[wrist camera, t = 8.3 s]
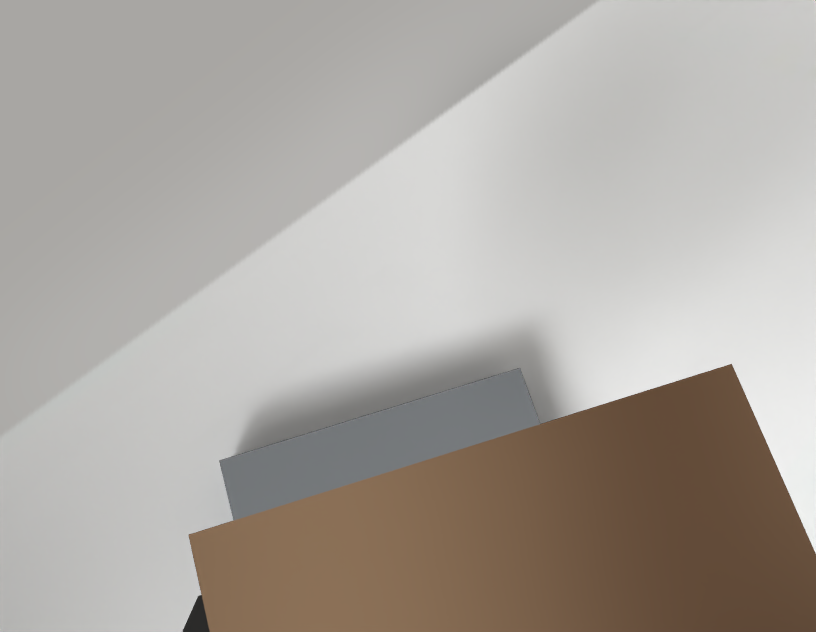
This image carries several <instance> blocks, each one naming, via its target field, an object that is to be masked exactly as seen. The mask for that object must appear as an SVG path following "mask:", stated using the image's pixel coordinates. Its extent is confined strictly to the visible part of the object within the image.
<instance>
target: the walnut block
mask: <svg viewBox="0 0 816 632" xmlns="http://www.w3.org/2000/svg"><path fill="white" fill-rule="evenodd" d="M189 539H190V544H191V549H192V553H193V558H194V562H195V567H196V571H197V576H198V581H199V585H200V590H201V594H202V599H203V603H204V608H205V613H206V617H207V622H208V626H209V631H210V632H816V554H815V551H814V549H813V547H812V545H811V542H810V540H809V538H808V536H807V533H806V531H805V529H804V527H803V524H802V522H801V520H800V518H799V515H798V513H797V511H796V508H795V506H794V504H793V502H792V499H791V497H790V495H789V493H788V490H787V488H786V486H785V484H784V481H783V479H782V477H781V475H780V472H779V470H778V468H777V465H776V463H775V461H774V459H773V456H772V454H771V452H770V450H769V447H768V445H767V443H766V441H765V438H764V436H763V434H762V432H761V429H760V427H759V425H758V422H757V420H756V418H755V416H754V413H753V411H752V409H751V407H750V404H749V402H748V400H747V398H746V395H745V393H744V391H743V389H742V386H741V384H740V382H739V379H738V377H737V375H736V373H735V370H734V368H733V366H732V364H730V365H727V366H724V367H720V368H717V369H714V370H711V371H708V372H705V373H701V374H698V375H695V376H692V377H689V378H685V379H682V380H679V381H676V382H673V383H670V384H666V385H663V386H660V387H657V388H654V389H650V390H647V391H644V392H641V393H638V394H635V395H631V396H628V397H625V398H622V399H619V400H616V401H612V402H609V403H606V404H603V405H600V406H596V407H593V408H590V409H587V410H584V411H581V412H577V413H574V414H571V415H568V416H565V417H561V418H558V419H555V420H552V421H549V422H546V423H542V424H539V425H536V426H533V427H530V428H526V429H523V430H520V431H517V432H514V433H511V434H507V435H504V436H501V437H498V438H495V439H492V440H488V441H485V442H482V443H479V444H476V445H472V446H469V447H466V448H463V449H460V450H457V451H453V452H450V453H447V454H444V455H441V456H437V457H434V458H431V459H428V460H425V461H422V462H418V463H415V464H412V465H409V466H406V467H402V468H399V469H396V470H393V471H390V472H387V473H383V474H380V475H377V476H374V477H371V478H367V479H364V480H361V481H358V482H355V483H352V484H348V485H345V486H342V487H339V488H336V489H333V490H329V491H326V492H323V493H320V494H317V495H313V496H310V497H307V498H304V499H301V500H298V501H294V502H291V503H288V504H285V505H282V506H278V507H275V508H272V509H269V510H266V511H263V512H259V513H256V514H253V515H250V516H247V517H243V518H240V519H237V520H234V521H231V522H228V523H224V524H221V525H218V526H215V527H212V528H209V529H205V530H202V531H199V532H196V533H193V534H189Z"/></svg>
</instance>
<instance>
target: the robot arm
mask: <svg viewBox="0 0 816 632" xmlns="http://www.w3.org/2000/svg"><path fill="white" fill-rule="evenodd" d="M183 632H210V631H209V626H208V622H207V617H206V613H205V608H204V603H203V599H202V595H200V596H198V598H197V600H196V602H195V605H194V607H193V609H192V611H191V614H190V616H189V618H188V620H187V623H186V625H185V627H184V629H183Z"/></svg>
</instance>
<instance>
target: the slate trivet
mask: <svg viewBox="0 0 816 632" xmlns="http://www.w3.org/2000/svg"><path fill="white" fill-rule="evenodd" d="M539 424H540V422H539V419H538V416H537V414H536V411H535V408H534V405H533V403H532V400H531V397H530V394H529V392H528V389H527V386H526V383H525V381H524V378H523V375H522V372H521V370H520V368H518V369H515V370H511V371H508V372H505V373H502V374H498V375H495V376H492V377H489V378H486V379H482V380H479V381H476V382H473V383H469V384H466V385H463V386H460V387H456V388H453V389H450V390H447V391H443V392H440V393H437V394H434V395H430V396H427V397H424V398H421V399H417V400H414V401H411V402H408V403H404V404H401V405H398V406H395V407H392V408H388V409H385V410H382V411H379V412H375V413H372V414H369V415H366V416H362V417H359V418H356V419H353V420H349V421H346V422H343V423H340V424H336V425H333V426H330V427H327V428H323V429H320V430H317V431H314V432H310V433H307V434H304V435H301V436H297V437H294V438H291V439H288V440H285V441H281V442H278V443H275V444H272V445H268V446H265V447H262V448H259V449H255V450H252V451H249V452H246V453H242V454H239V455H236V456H233V457H229V458H226V459H223V460H220V466H221V470H222V474H223V478H224V482H225V486H226V490H227V495H228V499H229V503H230V507H231V511H232V515H233V520H237V519H240V518H243V517H247V516H250V515H253V514H256V513H259V512H263V511H266V510H269V509H272V508H275V507H278V506H282V505H285V504H288V503H291V502H294V501H298V500H301V499H304V498H307V497H310V496H313V495H317V494H320V493H323V492H326V491H329V490H333V489H336V488H339V487H342V486H345V485H348V484H352V483H355V482H358V481H361V480H364V479H367V478H371V477H374V476H377V475H380V474H383V473H387V472H390V471H393V470H396V469H399V468H402V467H406V466H409V465H412V464H415V463H418V462H422V461H425V460H428V459H431V458H434V457H437V456H441V455H444V454H447V453H450V452H453V451H457V450H460V449H463V448H466V447H469V446H472V445H476V444H479V443H482V442H485V441H488V440H492V439H495V438H498V437H501V436H504V435H507V434H511V433H514V432H517V431H520V430H523V429H526V428H530V427H533V426H536V425H539Z"/></svg>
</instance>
